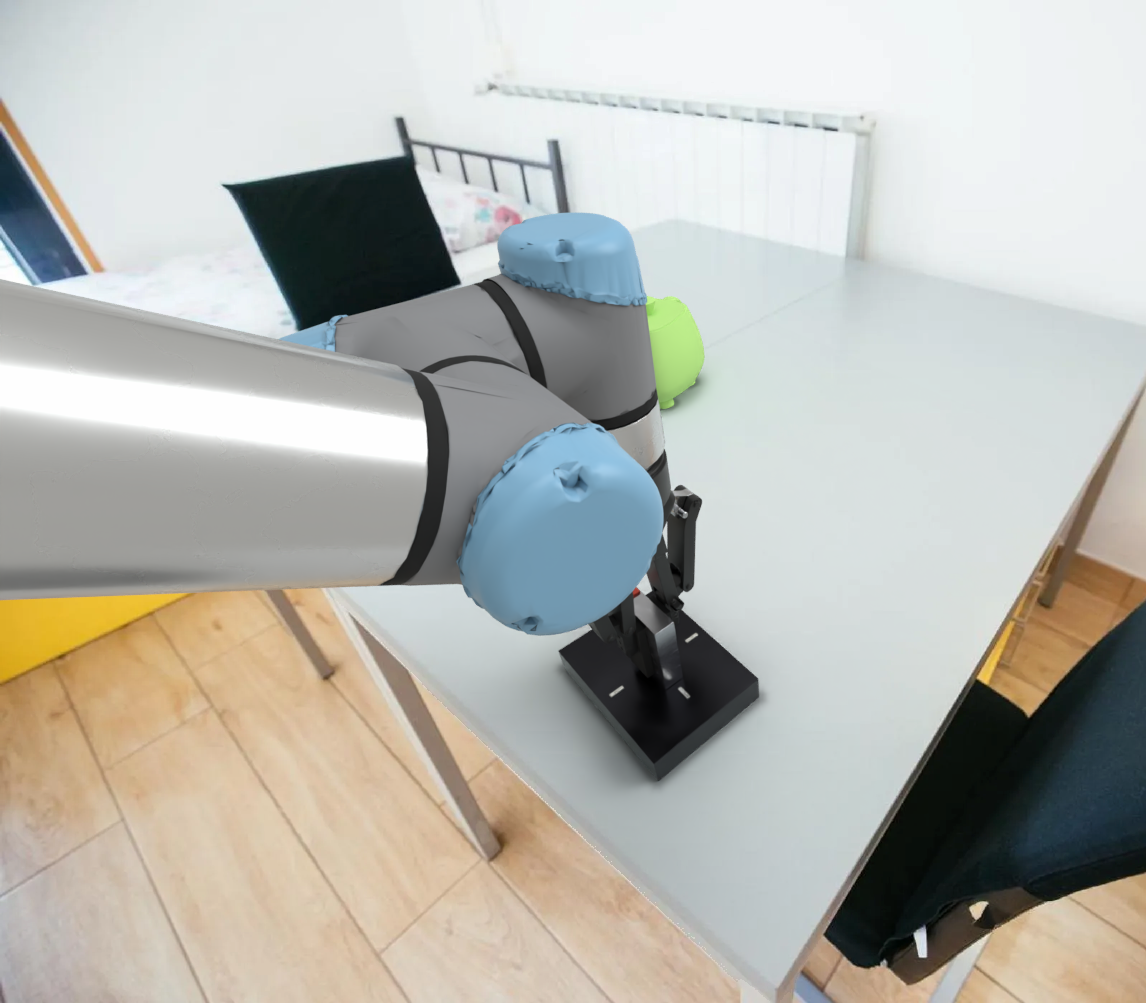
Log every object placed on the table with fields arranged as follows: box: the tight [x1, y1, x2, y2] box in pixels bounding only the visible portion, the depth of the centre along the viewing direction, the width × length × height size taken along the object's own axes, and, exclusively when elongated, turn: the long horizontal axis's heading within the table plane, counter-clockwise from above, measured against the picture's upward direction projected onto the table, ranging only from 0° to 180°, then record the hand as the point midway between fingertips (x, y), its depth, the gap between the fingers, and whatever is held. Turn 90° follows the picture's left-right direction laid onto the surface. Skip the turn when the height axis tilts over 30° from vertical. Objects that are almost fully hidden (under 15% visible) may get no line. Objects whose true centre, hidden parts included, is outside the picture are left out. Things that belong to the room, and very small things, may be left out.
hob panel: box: [557, 590, 760, 782], centre depth 60 cm, size 12×16×3 cm
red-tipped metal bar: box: [633, 586, 683, 689], centre depth 57 cm, size 6×2×8 cm, turn 43°
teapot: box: [646, 295, 706, 410], centre depth 101 cm, size 25×22×16 cm
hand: (654, 658), depth 59 cm, fingers closed on red-tipped metal bar, 2 cm apart
